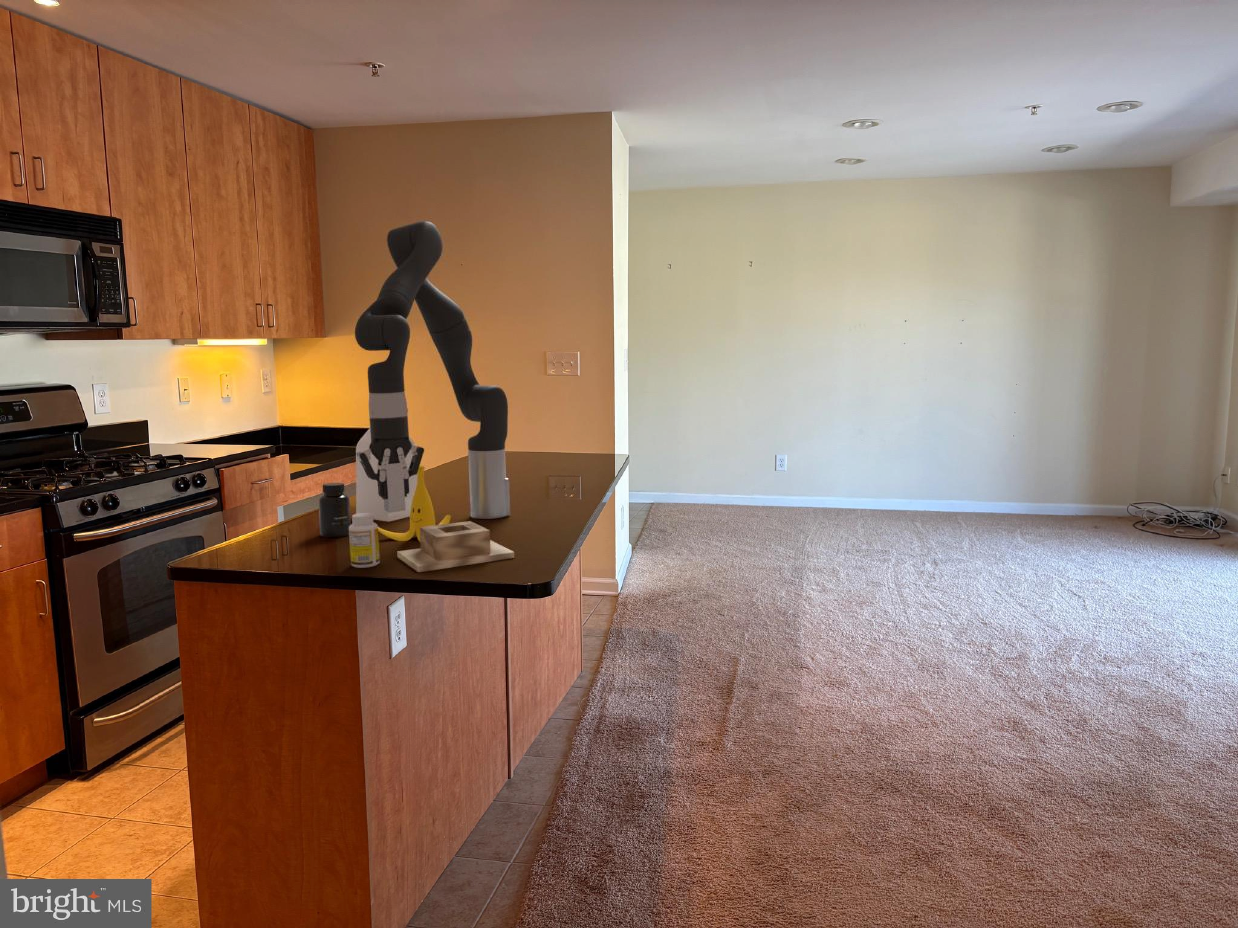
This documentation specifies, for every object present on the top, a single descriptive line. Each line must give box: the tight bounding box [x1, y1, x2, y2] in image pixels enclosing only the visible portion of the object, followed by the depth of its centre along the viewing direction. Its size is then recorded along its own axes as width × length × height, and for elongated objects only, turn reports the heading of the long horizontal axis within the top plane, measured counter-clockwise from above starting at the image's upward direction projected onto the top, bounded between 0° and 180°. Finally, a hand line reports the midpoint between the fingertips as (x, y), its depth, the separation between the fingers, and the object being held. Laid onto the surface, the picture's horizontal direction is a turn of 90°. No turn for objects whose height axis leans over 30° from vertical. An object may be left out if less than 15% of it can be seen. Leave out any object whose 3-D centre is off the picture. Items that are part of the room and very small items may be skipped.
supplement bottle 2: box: [348, 513, 381, 569], centre depth 165 cm, size 6×6×10 cm
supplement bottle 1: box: [318, 482, 352, 539], centre depth 192 cm, size 7×7×12 cm
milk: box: [355, 427, 417, 522], centre depth 213 cm, size 12×12×26 cm
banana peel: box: [378, 465, 452, 543], centre depth 190 cm, size 17×19×17 cm
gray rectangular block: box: [384, 463, 406, 513], centre depth 171 cm, size 3×3×10 cm
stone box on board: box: [396, 520, 515, 573], centre depth 170 cm, size 20×14×6 cm
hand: (394, 497), depth 171 cm, fingers closed on gray rectangular block, 3 cm apart
